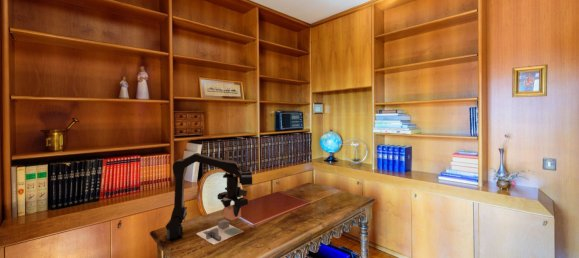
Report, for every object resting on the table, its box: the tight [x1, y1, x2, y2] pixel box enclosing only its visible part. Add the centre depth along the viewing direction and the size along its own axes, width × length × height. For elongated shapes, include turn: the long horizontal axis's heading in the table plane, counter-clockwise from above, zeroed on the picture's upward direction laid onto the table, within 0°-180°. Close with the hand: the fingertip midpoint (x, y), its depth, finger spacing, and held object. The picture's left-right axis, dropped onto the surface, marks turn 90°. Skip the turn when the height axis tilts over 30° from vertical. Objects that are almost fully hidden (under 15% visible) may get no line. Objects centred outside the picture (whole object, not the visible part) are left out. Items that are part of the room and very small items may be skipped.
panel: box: [195, 218, 244, 245], centre depth 134 cm, size 18×16×4 cm
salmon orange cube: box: [223, 204, 242, 221], centre depth 134 cm, size 6×6×5 cm
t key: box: [206, 228, 221, 240], centre depth 127 cm, size 8×6×3 cm
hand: (232, 214), depth 134 cm, fingers closed on salmon orange cube, 6 cm apart
